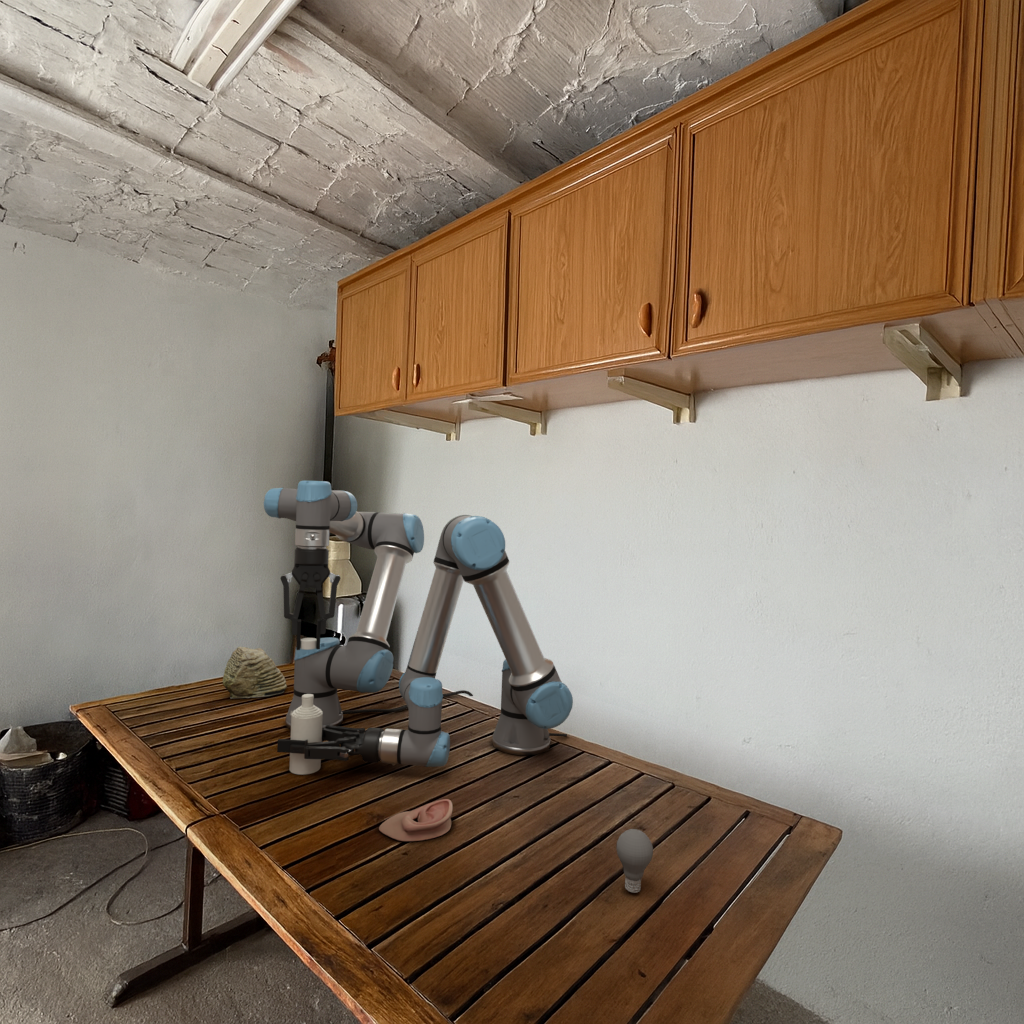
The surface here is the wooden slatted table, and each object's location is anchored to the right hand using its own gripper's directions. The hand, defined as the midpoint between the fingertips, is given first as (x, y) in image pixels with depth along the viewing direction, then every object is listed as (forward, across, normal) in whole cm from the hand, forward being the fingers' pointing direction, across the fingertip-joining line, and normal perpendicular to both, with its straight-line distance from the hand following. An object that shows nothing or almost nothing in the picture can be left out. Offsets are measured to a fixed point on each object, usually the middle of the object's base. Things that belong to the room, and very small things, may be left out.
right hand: (285, 739), depth 147 cm
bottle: (-5, 0, -6) cm, 8 cm away
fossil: (+30, +49, -6) cm, 58 cm away
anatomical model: (-36, -22, -6) cm, 43 cm away
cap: (-5, 0, +23) cm, 24 cm away
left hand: (-5, 0, +22) cm, 22 cm away
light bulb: (-76, -38, -6) cm, 85 cm away
